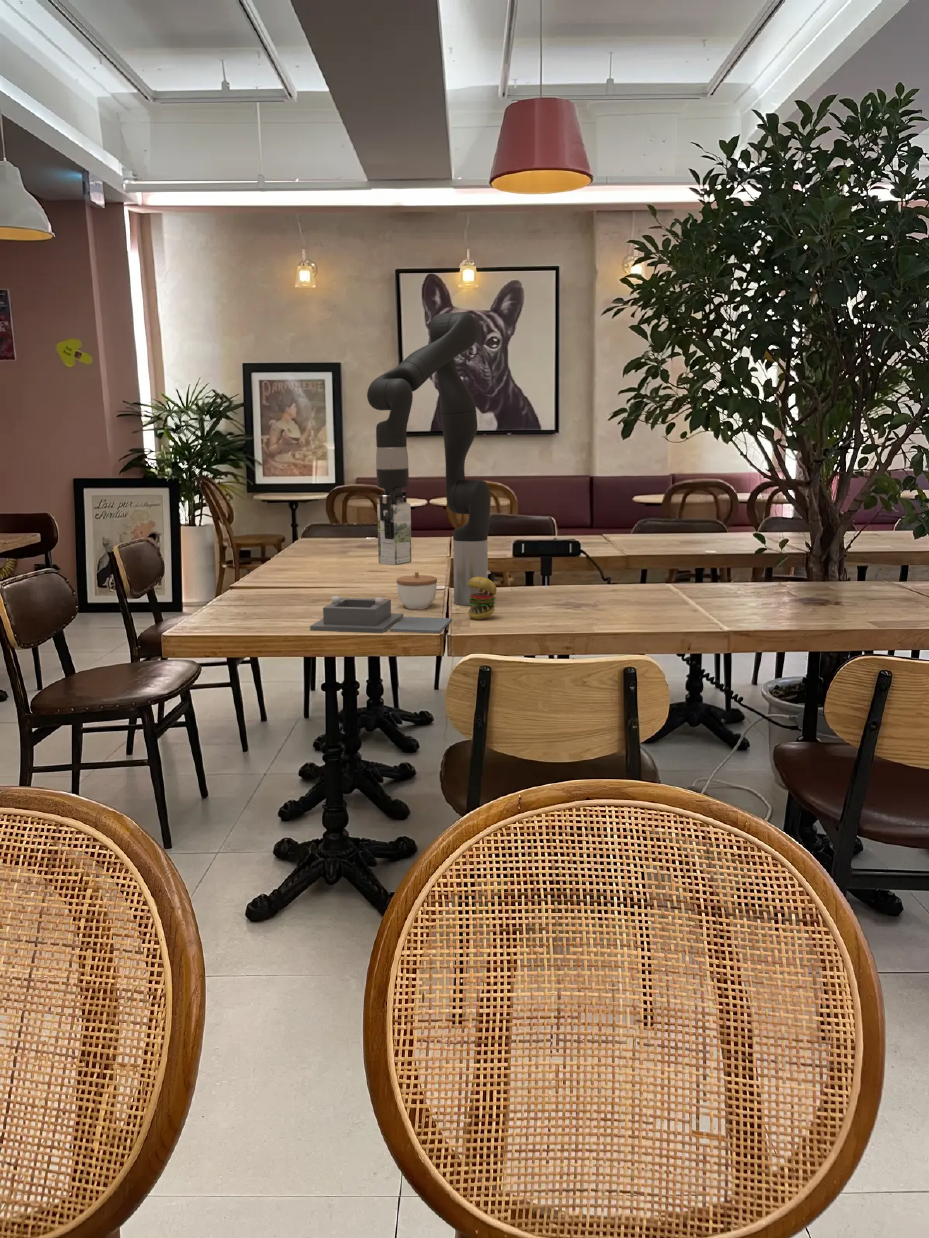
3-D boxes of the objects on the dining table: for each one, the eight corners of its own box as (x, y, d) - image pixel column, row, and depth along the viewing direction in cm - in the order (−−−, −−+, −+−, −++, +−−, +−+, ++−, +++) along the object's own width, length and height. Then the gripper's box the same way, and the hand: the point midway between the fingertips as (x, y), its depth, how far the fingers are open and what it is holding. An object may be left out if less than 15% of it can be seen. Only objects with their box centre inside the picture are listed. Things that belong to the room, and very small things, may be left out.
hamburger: (460, 618, 226) (460, 570, 224) (481, 613, 231) (480, 567, 229) (482, 622, 221) (482, 574, 218) (503, 618, 226) (503, 570, 223)
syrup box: (395, 560, 220) (393, 501, 217) (412, 563, 216) (410, 502, 213) (378, 563, 216) (376, 503, 213) (395, 566, 212) (393, 504, 209)
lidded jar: (389, 608, 239) (388, 573, 237) (410, 602, 248) (409, 568, 246) (424, 612, 234) (423, 576, 232) (444, 605, 243) (444, 570, 241)
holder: (335, 615, 231) (334, 590, 230) (403, 617, 227) (403, 592, 226) (310, 630, 214) (308, 603, 212) (383, 632, 210) (382, 605, 209)
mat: (405, 619, 225) (405, 616, 225) (452, 620, 223) (452, 618, 223) (389, 631, 212) (389, 628, 212) (439, 633, 210) (439, 630, 209)
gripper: (398, 468, 204) (401, 541, 207) (416, 465, 217) (418, 533, 221) (367, 468, 205) (370, 540, 209) (386, 465, 219) (388, 532, 222)
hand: (394, 536), depth 215 cm, fingers closed on syrup box, 7 cm apart
